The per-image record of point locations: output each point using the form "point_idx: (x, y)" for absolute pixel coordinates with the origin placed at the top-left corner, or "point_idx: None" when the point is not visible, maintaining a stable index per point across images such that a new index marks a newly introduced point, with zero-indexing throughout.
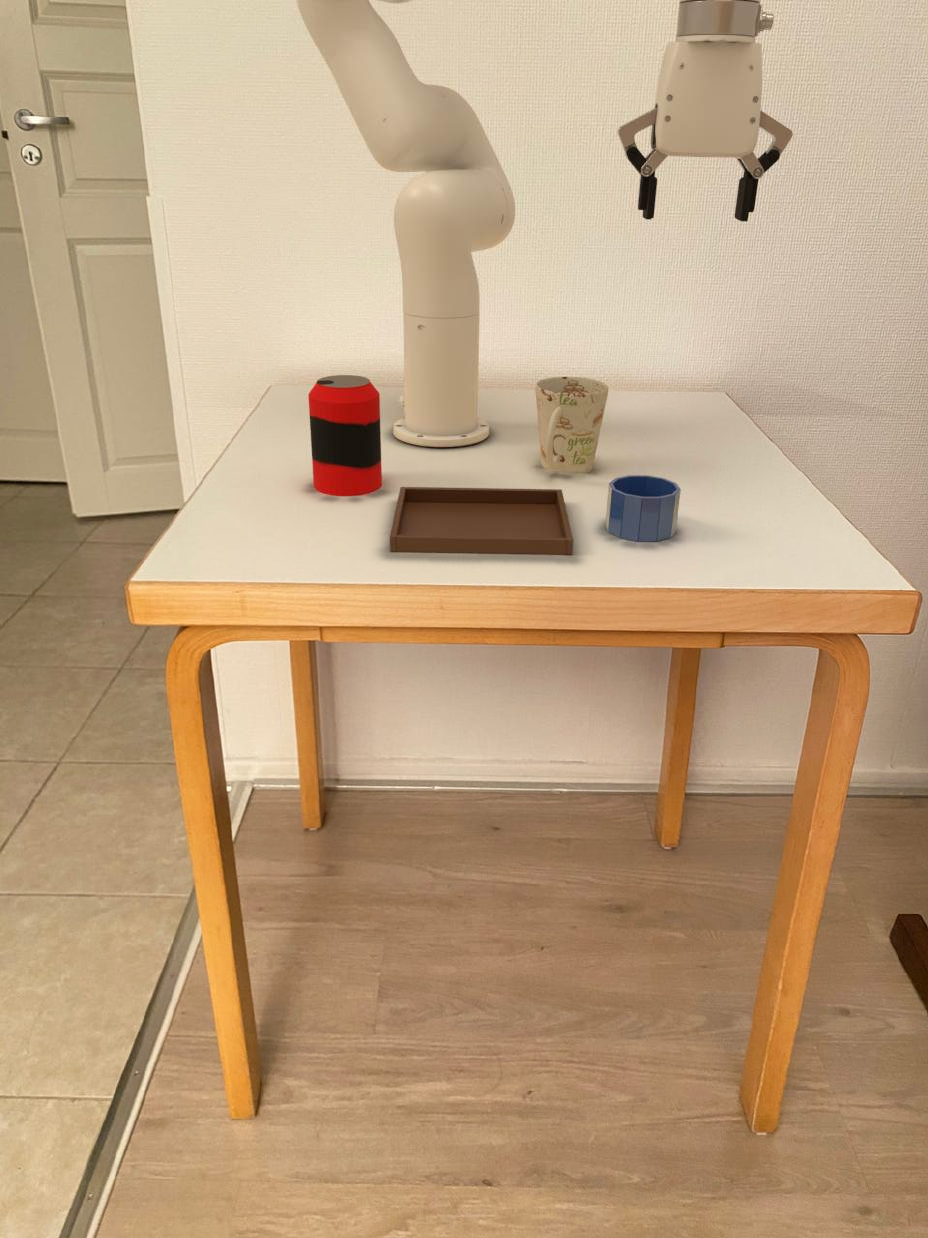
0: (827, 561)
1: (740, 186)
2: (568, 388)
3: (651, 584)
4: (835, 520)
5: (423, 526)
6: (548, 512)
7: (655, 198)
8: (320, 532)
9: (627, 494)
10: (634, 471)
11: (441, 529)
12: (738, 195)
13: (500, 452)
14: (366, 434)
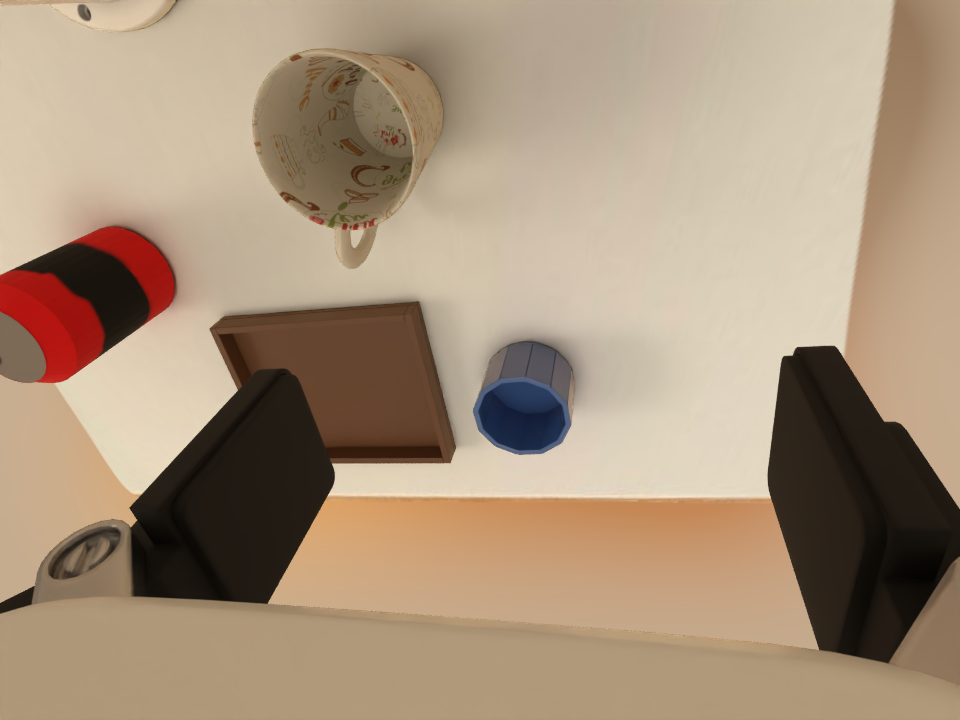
0: (760, 437)
1: (833, 536)
2: (319, 58)
3: (539, 492)
4: (846, 305)
5: None
6: (407, 341)
7: (300, 543)
8: (190, 401)
9: (499, 446)
10: (524, 99)
11: None
12: (816, 469)
13: (253, 23)
14: (113, 342)
